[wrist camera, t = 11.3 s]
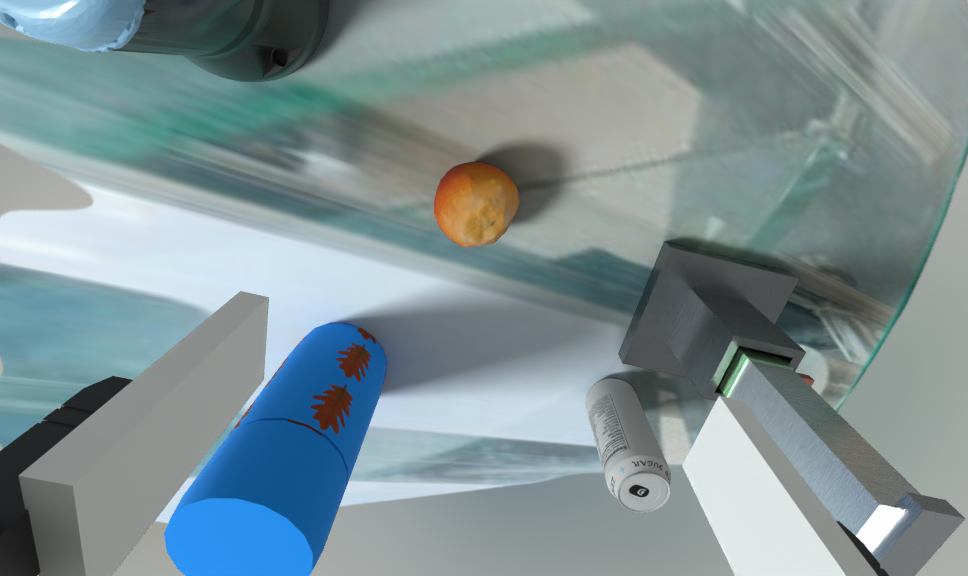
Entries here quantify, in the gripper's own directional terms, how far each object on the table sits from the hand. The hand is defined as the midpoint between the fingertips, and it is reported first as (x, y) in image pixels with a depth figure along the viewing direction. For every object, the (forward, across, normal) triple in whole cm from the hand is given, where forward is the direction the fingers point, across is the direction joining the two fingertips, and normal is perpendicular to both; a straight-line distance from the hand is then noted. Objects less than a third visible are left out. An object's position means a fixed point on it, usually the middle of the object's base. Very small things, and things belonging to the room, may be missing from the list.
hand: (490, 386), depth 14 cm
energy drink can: (+37, +20, -23) cm, 48 cm away
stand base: (+37, +26, -10) cm, 46 cm away
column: (+28, +26, -10) cm, 40 cm away
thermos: (+37, -12, -26) cm, 47 cm away
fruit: (+37, -1, -3) cm, 37 cm away
